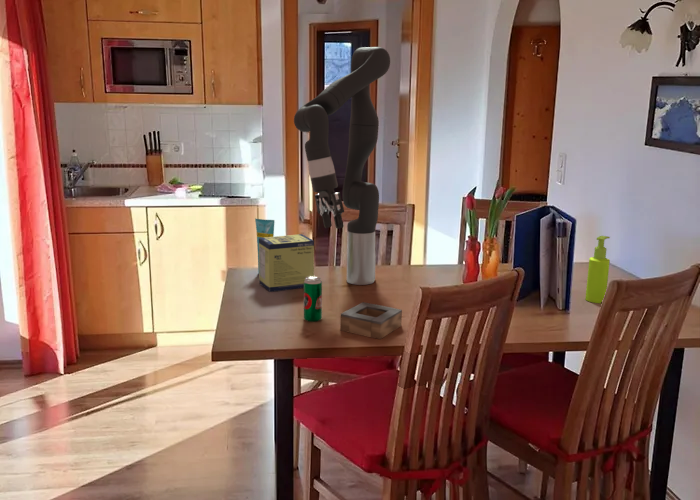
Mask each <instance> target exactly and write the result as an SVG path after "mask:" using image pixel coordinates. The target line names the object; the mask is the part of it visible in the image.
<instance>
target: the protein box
mask: <svg viewBox="0 0 700 500" xmlns="http://www.w3.org/2000/svg"><path fill="white" fill-rule="evenodd" d="M314 263H315V240H313V239H311V238H309V237H308V236H306V235H304V234H302V233H301V234H300V233H299V234H290V235H287V234H286V235H279V236H274V237H264V238H259V272H258V275H259V277H258V278H259V280H258V281H259V285H260V286H262V287H263V288H264V289H266V290H267V291H268V292H269V293H270V292H280V291H287V290H288V291H289V290H296V289H297V290H298V289H304V281H305V278H306V277H309V276H315V272H314V271H315V270H314V269H315V268H314V267H315V266H314Z"/></svg>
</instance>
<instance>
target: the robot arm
mask: <svg viewBox="0 0 700 500" xmlns="http://www.w3.org/2000/svg"><path fill="white" fill-rule="evenodd" d="M390 65H391V57H390V54H389V51H388V50H387V49H385V48H384V47H380V46H370V47H369V46H368V47H366V46H364V47H363V46H362V47H357V48H356V50H354V52H353V54H352V57H351V64H350V66H351V67H350V69H351V70H350V73H347V74H346V75H344V76H342V77H340V78H338V79H336V80H334V81H333V82H332V83H330V84H329V85H328V86H327V87H326V88H324V89H323V90H322V91H321V92H320V93H319V94H318V95H317V96H316V97H315V98H312V99H311V100H310V101H308V102H306V103H305V104H304V105H302V106H301V107H300V108H299V109H298V110H297V111H296V112H295V114H294V116H293V124H294V126H295V128H296V129H297V130H298V131H300V132H303V133H309V139H308V140H307V141H306V142H305V143H304V150H305V156H306V159H307V160H306V161H307V165H308V167H307V168H308V173H309V178H310V182H311V187H312V191H313V192H314V193H317V194H314V200H315V205H316V210H317V214H319V215H320V216H321V217H322V222H323V227H324V228H325V229H328V228H331V227H332V224H333V223H332V221H331V220H332V219H331V215H330V212H331V213H332V215H333V221H334V224H335V229H342V228H344V223H343V218H342V214H343V213H344V212H345V209H344V206H345V207H346V208H347V209H350V210H355V211H359V213H358V217H357V218H356V219H353V220H349V221H348V222H347V226H346V228H347V233H346V235H347V237H346V239H347V240H346V246H347V247H346V282H347V283H348V284H352V285H356V286H357V285H358V286H362V285H363V286H364V285H372V284H373V283H374V282H375V280H376V255H377V254H376V227H377V224H378V219H379V218H378V217H379V207H380V205H379V204H380V191H379V189H378V186H377V185H376V184H375V183H373V182H365V181H362V177H363V172H364V171H363V170H364V166H365V164H366V162H367V160H368V159H369V157H370V156H371V154H372V152H373V151H374V149H375V147H376V146H377V142H378V139H379V138H378V137H379V124H380V123H379V122H380V121H379V116H378V114H377V111H376V108H375V106H374V103H373V101H372V98H371V94H370V84H372V83H374V82H375V81H377V80H379V79H380V78H381V77H383V76H384V75H386V74H387V73H388V72H389V69H390ZM350 99H351V102H350V103H351V105H350V119H349V131H348V151H347V160H346V168H345V173H344V174H345V175H344V180H343V186H342V196H341V192H335V189H337V188H338V187H339V184H338V180H337V175H336V170H335V165H334V162H333V159H332V154H331V150H330V145H329V130H330V129H329V123H330V122H329V116H331V115H333V114H334V113H336V112H337V111H338V110H340V109H341V107H343V106H344V105H345V103H347V101H349V100H350Z"/></svg>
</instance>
